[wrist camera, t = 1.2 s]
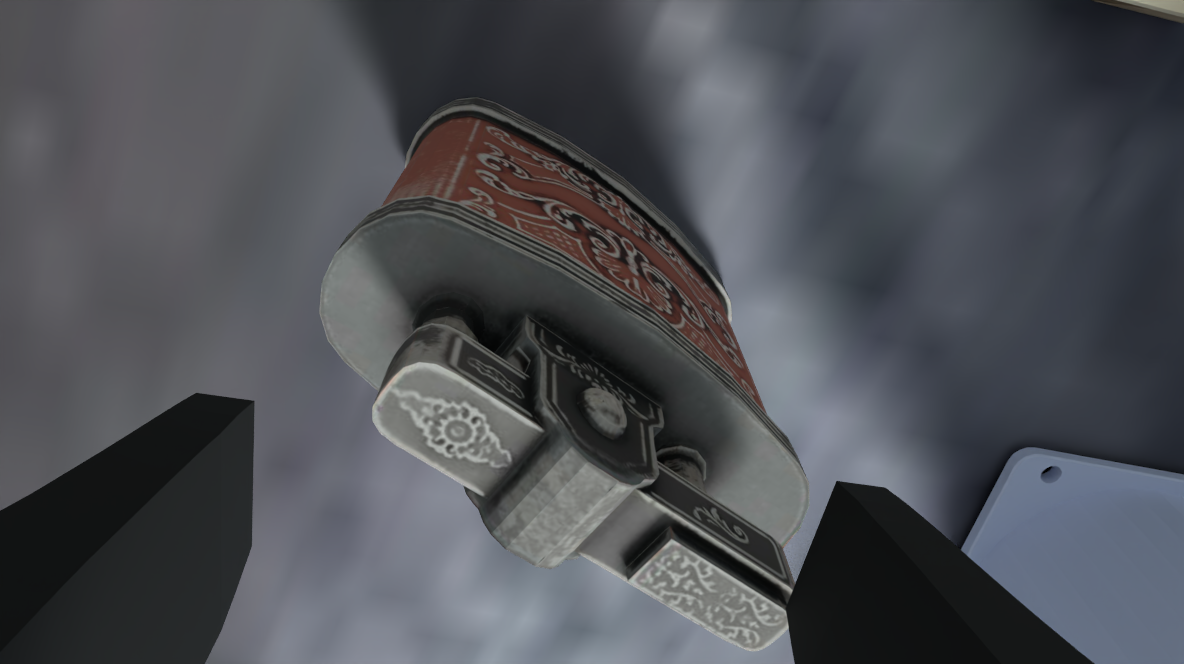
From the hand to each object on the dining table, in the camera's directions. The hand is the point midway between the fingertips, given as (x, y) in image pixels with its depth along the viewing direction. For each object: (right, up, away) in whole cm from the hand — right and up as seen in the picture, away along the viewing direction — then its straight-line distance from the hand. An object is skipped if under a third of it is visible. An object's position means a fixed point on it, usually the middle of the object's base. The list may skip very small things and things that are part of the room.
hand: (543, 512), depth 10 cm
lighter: (0, +4, +9) cm, 10 cm away
